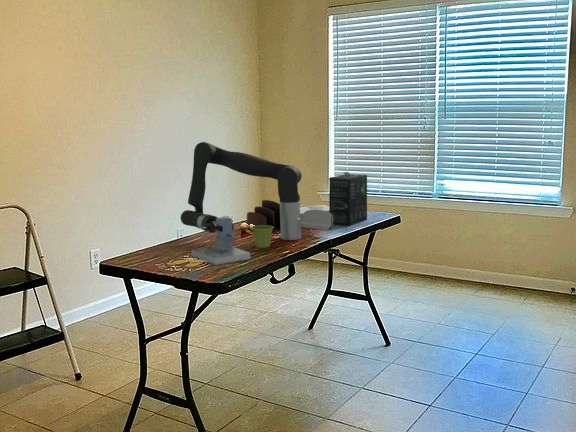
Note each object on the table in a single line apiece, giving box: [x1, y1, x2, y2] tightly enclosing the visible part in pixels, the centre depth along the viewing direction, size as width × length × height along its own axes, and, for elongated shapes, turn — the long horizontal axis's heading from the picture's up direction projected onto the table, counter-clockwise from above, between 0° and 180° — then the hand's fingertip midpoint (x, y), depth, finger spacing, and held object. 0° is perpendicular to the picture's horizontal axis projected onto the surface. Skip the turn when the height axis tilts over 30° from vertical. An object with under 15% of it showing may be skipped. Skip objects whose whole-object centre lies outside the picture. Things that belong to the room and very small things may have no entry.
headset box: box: [328, 171, 368, 227], centre depth 329 cm, size 22×12×26 cm, turn 149°
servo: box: [215, 215, 235, 245], centre depth 273 cm, size 10×4×12 cm, turn 35°
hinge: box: [301, 209, 334, 231], centre depth 318 cm, size 17×5×10 cm, turn 60°
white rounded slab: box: [300, 204, 329, 222], centre depth 345 cm, size 19×33×5 cm, turn 116°
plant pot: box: [251, 225, 273, 249], centre depth 276 cm, size 9×9×9 cm
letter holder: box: [246, 199, 280, 234], centre depth 315 cm, size 10×20×14 cm, turn 31°
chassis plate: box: [191, 244, 251, 266], centre depth 259 cm, size 20×16×2 cm
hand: (227, 228), depth 271 cm, fingers closed on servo, 4 cm apart
